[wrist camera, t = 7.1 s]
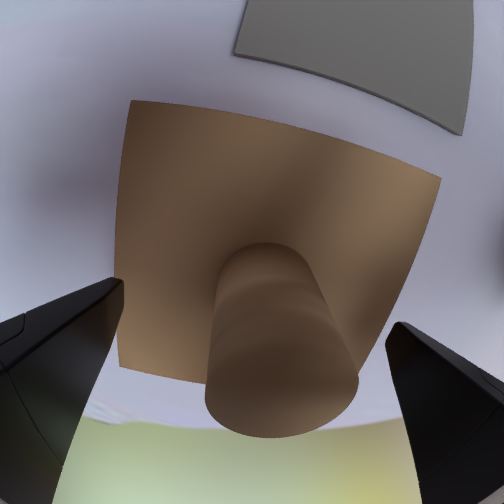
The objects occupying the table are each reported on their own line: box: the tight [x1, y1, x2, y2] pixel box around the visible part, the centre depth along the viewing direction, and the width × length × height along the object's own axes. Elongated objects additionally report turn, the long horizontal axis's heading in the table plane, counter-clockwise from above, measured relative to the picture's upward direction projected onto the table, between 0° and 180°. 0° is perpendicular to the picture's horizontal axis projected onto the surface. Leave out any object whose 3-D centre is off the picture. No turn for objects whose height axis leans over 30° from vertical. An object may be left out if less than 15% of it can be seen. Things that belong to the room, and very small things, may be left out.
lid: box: [114, 100, 442, 438], centre depth 9 cm, size 11×11×6 cm
